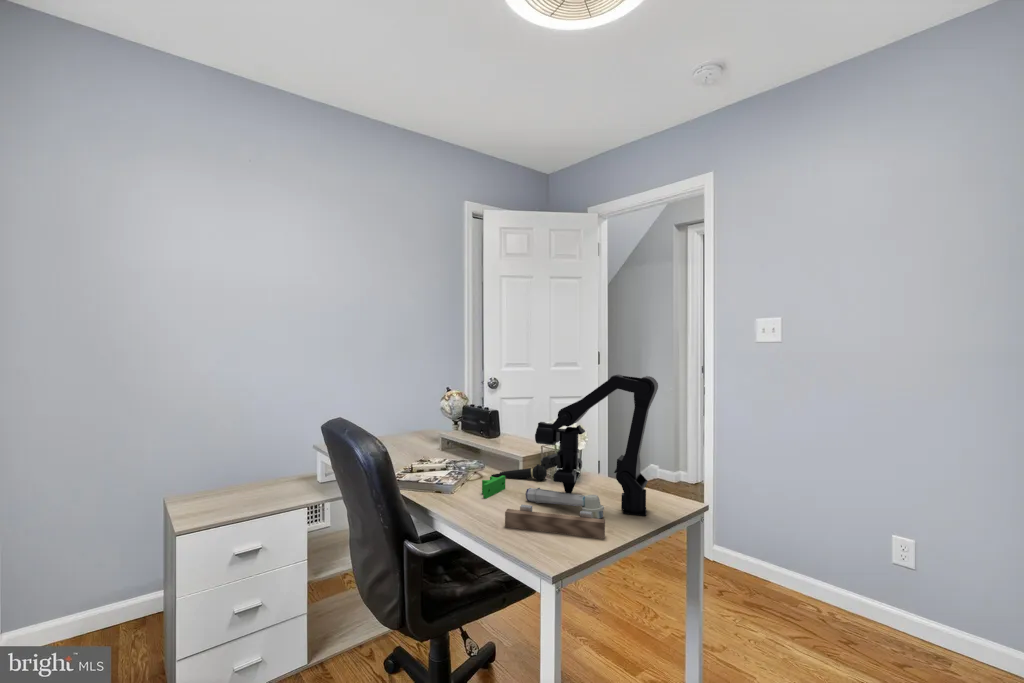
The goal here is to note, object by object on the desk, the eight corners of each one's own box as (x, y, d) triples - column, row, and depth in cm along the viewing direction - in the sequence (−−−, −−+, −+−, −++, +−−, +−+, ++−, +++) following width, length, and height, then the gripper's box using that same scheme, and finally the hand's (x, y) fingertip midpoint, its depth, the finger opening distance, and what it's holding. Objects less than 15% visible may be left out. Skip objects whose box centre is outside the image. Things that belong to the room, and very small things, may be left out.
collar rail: (605, 532, 125) (605, 513, 125) (604, 538, 122) (604, 519, 121) (509, 521, 132) (509, 503, 132) (504, 526, 128) (505, 508, 128)
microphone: (491, 487, 172) (547, 483, 168) (488, 473, 170) (544, 469, 166) (494, 478, 177) (548, 474, 173) (491, 464, 175) (546, 460, 171)
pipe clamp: (495, 487, 162) (496, 474, 162) (505, 489, 160) (505, 475, 160) (476, 496, 152) (476, 482, 152) (486, 499, 150) (486, 484, 150)
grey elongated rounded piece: (533, 485, 152) (605, 490, 137) (535, 507, 151) (608, 514, 137) (523, 489, 148) (596, 495, 133) (525, 511, 147) (599, 520, 132)
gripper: (548, 438, 160) (548, 485, 160) (536, 452, 142) (536, 504, 142) (582, 441, 157) (582, 488, 157) (574, 455, 139) (573, 508, 139)
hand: (568, 497), depth 149 cm, fingers closed
